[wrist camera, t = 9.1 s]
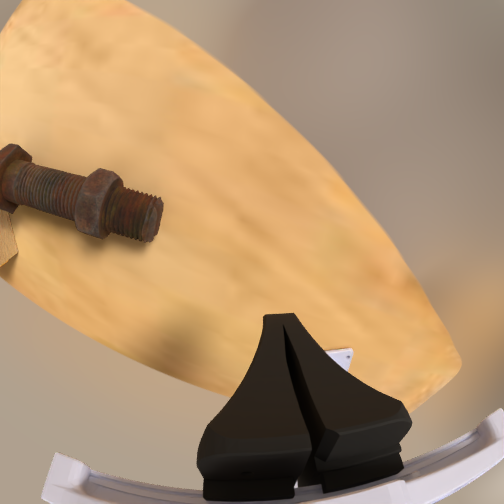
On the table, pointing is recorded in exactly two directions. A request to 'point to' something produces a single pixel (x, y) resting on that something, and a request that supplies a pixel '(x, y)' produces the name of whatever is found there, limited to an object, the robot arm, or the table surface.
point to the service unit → (6, 238)
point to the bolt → (78, 197)
